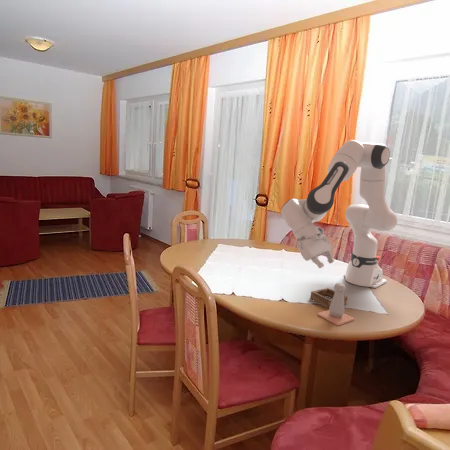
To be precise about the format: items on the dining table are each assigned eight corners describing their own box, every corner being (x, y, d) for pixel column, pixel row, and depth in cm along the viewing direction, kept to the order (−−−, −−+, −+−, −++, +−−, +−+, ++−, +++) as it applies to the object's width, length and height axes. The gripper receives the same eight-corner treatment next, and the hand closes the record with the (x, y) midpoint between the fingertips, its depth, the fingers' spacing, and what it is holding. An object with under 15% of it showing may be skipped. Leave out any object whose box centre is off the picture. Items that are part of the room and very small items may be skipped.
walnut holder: (326, 295, 169) (327, 287, 168) (346, 304, 160) (347, 296, 160) (310, 299, 162) (311, 291, 162) (329, 308, 154) (331, 300, 153)
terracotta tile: (333, 310, 153) (333, 308, 153) (354, 320, 145) (354, 318, 145) (317, 315, 147) (317, 313, 147) (338, 325, 139) (338, 323, 139)
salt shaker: (332, 311, 150) (336, 280, 147) (345, 315, 147) (350, 284, 144) (325, 315, 146) (330, 283, 143) (339, 320, 142) (344, 288, 139)
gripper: (300, 234, 140) (321, 266, 136) (324, 228, 156) (343, 256, 152) (289, 243, 144) (309, 274, 140) (313, 236, 159) (331, 264, 156)
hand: (327, 264), depth 146 cm, fingers open, 8 cm apart
